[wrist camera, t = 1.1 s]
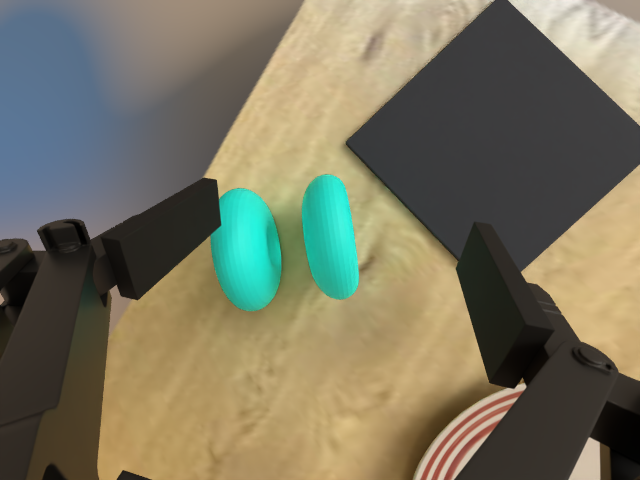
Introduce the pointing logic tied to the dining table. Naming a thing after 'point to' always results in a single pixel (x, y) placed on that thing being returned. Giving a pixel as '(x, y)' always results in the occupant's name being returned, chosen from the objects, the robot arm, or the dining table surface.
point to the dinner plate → (472, 431)
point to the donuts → (264, 248)
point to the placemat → (500, 138)
